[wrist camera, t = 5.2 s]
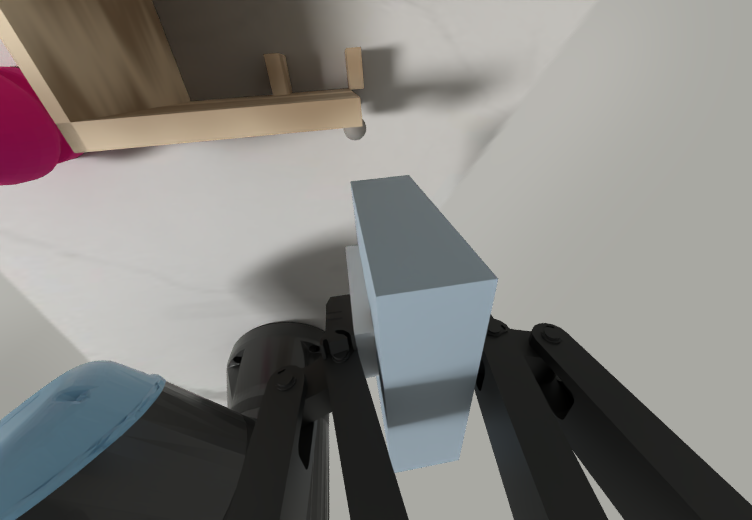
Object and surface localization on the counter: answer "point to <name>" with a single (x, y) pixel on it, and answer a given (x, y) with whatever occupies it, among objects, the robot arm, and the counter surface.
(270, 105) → the cabinet
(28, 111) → the pepper mill
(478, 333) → the door
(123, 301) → the counter surface
